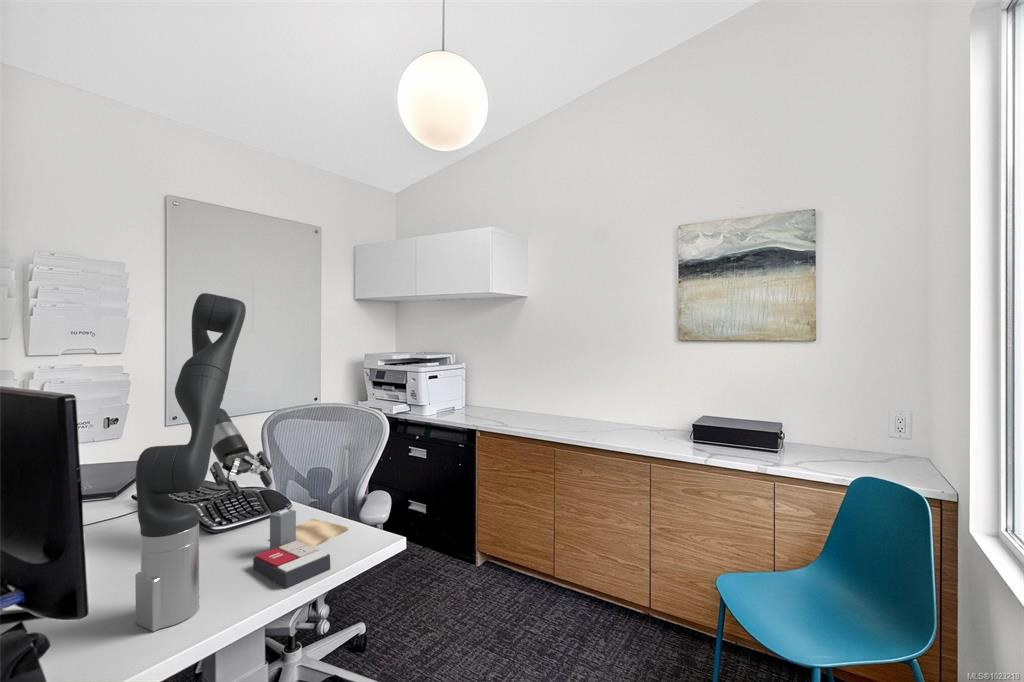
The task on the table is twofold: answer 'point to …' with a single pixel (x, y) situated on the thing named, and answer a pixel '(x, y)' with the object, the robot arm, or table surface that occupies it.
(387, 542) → the table surface
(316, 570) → the red-tabbed grey slab
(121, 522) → the table surface
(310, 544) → the cork coaster
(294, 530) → the block
